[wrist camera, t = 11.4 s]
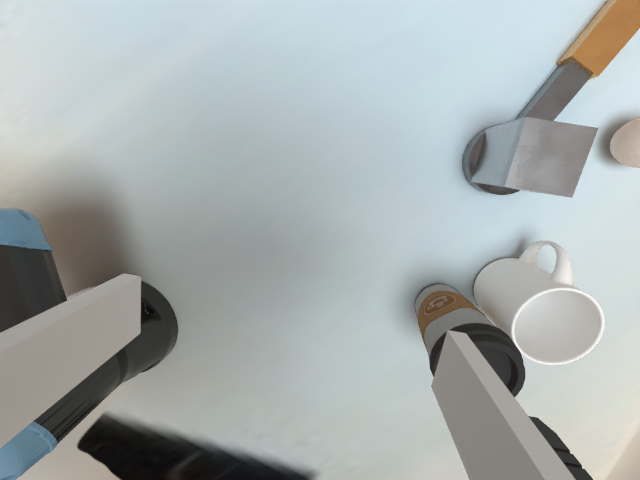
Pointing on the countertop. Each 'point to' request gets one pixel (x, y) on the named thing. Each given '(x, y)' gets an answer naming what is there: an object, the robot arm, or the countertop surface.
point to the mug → (540, 307)
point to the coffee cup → (462, 316)
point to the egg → (627, 144)
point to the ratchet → (570, 73)
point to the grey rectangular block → (534, 156)
